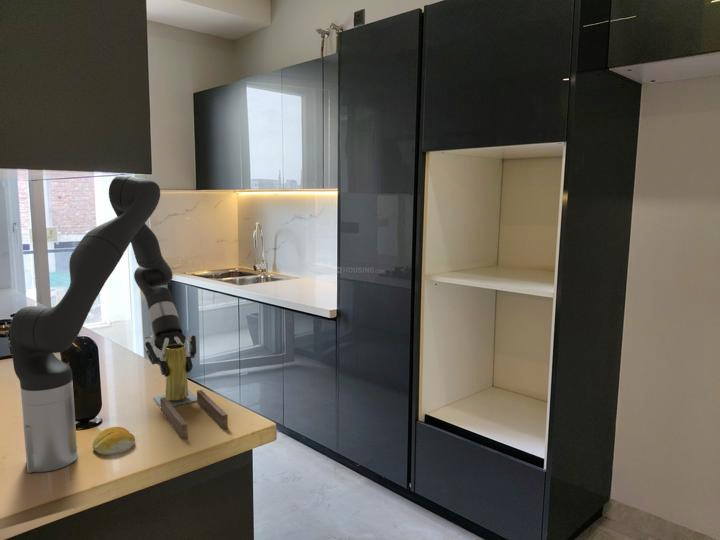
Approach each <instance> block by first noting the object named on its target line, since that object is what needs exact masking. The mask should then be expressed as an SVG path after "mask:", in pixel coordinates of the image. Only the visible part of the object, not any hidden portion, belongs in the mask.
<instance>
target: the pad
mask: <svg viewBox="0 0 720 540" xmlns="http://www.w3.org/2000/svg"><path fill="white" fill-rule="evenodd" d="M188 393H189V396H188V397H186V398H185V399H181V400H168V399H167V400H168V401H169V402H170V404H171V405H172V406H174V407H176V406H175V405H179V406H181V405H180V404H183V405H187V404H186V403H188V404H192V403H191V402H193V403H195V402H196V403H197V395H195V394H194V393H193V392H192V390H190V389H188ZM165 395H166V394H162V395H161V394H160V395H156V396H153V397H152V398H154V399H153V400H154V402H155V403H156V402H157V403H156V404H157V405H158V407H159V406H160V407H161V403H160V398H163V397H165ZM165 398H166V397H165ZM160 407H159V408H160Z"/></svg>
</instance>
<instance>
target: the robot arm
mask: <svg viewBox="0 0 720 540" xmlns="http://www.w3.org/2000/svg"><path fill="white" fill-rule="evenodd" d="M108 199H109V201H110V205H111V208H112V210H113V211H114V213H115V215H116V217H114V218H112V219H111V220H108V221H105V222H103V223H102V224H101V223H100V225H98V226H96V227H95V228H92V229H90V231H88V232H86V234H85V235H84V236H83V237H82V239H80V241H79V242H78V243H77V245H76V247H75V248H74V250H73V251H72V253H71V255H70V258H69V265H68V266H69V277H70V282H69V287H68V289H67V291H66V292H65V293H64V295H63V297H62V298H61V299H60V301H59V302H58V303H57V304H56V305H55V306H39V305H34V306H33V305H30V306H25V307H22V308H20V309H19V310H17V312H16V313H15V314H14V315H13V317H12V320H10V326H9V342H10V343H9V344H10V351H11V356H12V357H11V358H12V364H13V370H14V373H15V375H16V377H17V379H18V380H19V381H18V382H19V385H20V395H21V406H22V424H23V433H24V434H23V435H24V447H25V448H24V449H25V457H26V458H25V460H26V469H27V473H28V474H31V473H36V472H37V473H43V472H46V473H47V472H51V471H56V470H59V469H62V468H65V467H67V466H69V465H71V464H72V463H74V462H75V461H76V460H77V459H78V442H77V441H78V440H77V428H76V412H75V399H74V398H75V397H74V384H73V371H72V368H71V366H70V365H69V364H67V363H66V362H64V361H62V360H61V359H59V358H58V357H57V356H55V354H57V353H62V352H65V351H66V350H68V349H70V347H71V346H72V345H73V344H74V343H75V341H76V339H77V338H78V336H79V334H80V332H81V330H82V328H83V326H84V325H85V321H86V319H87V318H88V315H89V313H90V312H91V310H92V307H93V305H94V304H95V301H96V299H97V298H98V297H99V294H100V292H101V291H102V289H103V288H104V286H105V284H106V282H107V281H108V279H109V277H111V274H112V273H113V272H114V271H115V269H116V268H117V266H118V264H119V263H120V261H121V259H122V257H123V256H124V254H125V253H126V251H127V249H128V247H129V246H130V244H131V247H132V251H133V255H134V258H135V261H136V263H137V265H138V266H139V267H137V268H136V269H135V270H134V274H133V278H134V281H135V283H136V285H137V286H138V288H139V289H140V291H141V292H142V294H143V296H144V297H145V300H146V305H147V308H148V314H149V320H150V321H149V323H150V325H151V329H152V333H153V334H152V335H153V337H154V340H153V341H152V342H150V341H146V342H145V343H144V347H143V349H144V352H145V353H146V355H147V357H148V359H149V361H150V363H151V364H152V365H158V366H159V369H160V372H161V373H160V374H161V375H162V376H163V377H165V378H166V376H168V368H167V364H166V358H165V347H166V346H167V345H170V344H184V345H185V343H187V345H188V346H189V350H190V351H188V349H187V347H186V346H185V348H186V365H187V374H189V373H191V372H192V370H193V363H192V359H194V358H195V357H196V354H197V338H196V335H191V336H186V335H185V334H184V333H183V329H182V326H181V321H180V318H179V314H178V311H177V308H176V306H175V303H174V300H173V296H172V293H171V291H170V289H169V288H166V287H164V286H166V285H168V284H170V283H171V282H172V280H173V271H172V269H171V267H170V265H169V264H168V263H167V261H166V260H165V258H164V257H163V255H162V252H161V248H160V243H159V240H158V238H157V236H156V234H155V233H154V232H153V230H152V229H151V228H150V227H149V226H148V225H147V224H146V222H147V221H148V220H149V219H150V217H151V216H152V214H153V213H154V212H155V210H156V208H157V206H158V205H159V202H160V199H161V188H160V185H159V184H158V183H157V182H155V181H153V180H151V179H146V178H141V177H136V176H132V175H124V174H118V175H116V176H114V178H113V179H112V180H111V182H110V184H109V187H108ZM155 347H156V348H157V349H158V350H159V351H160V355H159V357H157V354H156V352H155V351H154V349H155Z"/></svg>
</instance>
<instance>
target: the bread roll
mask: <svg viewBox="0 0 720 540" xmlns="http://www.w3.org/2000/svg"><path fill="white" fill-rule="evenodd" d="M135 442H136V438H135V435H134V434H133V433H131V432H130V431H129V430H128V429H126V428H125V427H121V426H111V427H108V428H105V429H103V430H101V431H100V432H99V433H97V435H96V436H95V438H94V439H93V441H92V449H93V450H94V451H95V452H96V453H98V454H99V455H104V456H113V455H116V454H120V453H124V452H126V451H128V450H130V449H131V448H132V447H133V446H134V444H135Z"/></svg>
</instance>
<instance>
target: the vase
mask: <svg viewBox="0 0 720 540" xmlns="http://www.w3.org/2000/svg"><path fill="white" fill-rule="evenodd" d="M185 347H186V345H185V343H184V344H170V345H167V346H166V347H165V361H166V364H167V368H168V376H166V377H165V394H164V395H165V397H166V399H168V400H181V399H185V398H186V397H188V396H189V393H188V390H189V388H188V387H189V385H188V373H187V365H186V349H187V347H186V348H185Z"/></svg>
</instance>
